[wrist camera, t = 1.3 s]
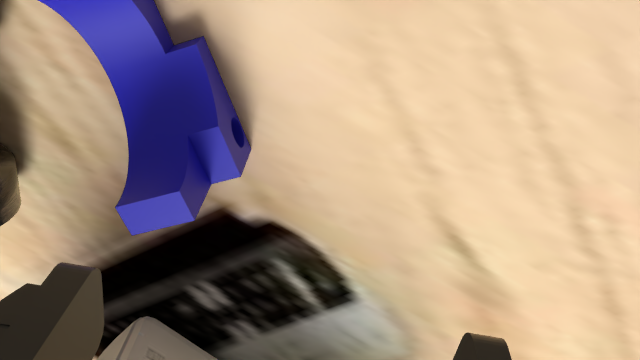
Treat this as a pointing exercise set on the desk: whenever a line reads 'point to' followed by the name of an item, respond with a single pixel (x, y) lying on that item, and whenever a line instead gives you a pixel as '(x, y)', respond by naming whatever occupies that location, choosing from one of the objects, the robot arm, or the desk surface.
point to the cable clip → (162, 110)
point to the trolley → (8, 186)
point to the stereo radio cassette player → (152, 344)
